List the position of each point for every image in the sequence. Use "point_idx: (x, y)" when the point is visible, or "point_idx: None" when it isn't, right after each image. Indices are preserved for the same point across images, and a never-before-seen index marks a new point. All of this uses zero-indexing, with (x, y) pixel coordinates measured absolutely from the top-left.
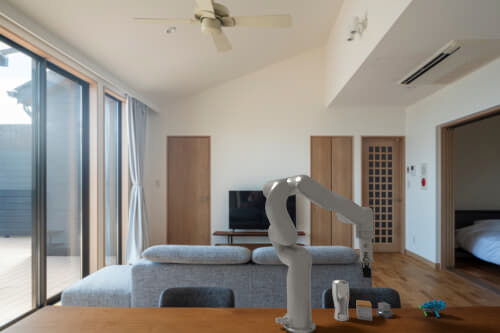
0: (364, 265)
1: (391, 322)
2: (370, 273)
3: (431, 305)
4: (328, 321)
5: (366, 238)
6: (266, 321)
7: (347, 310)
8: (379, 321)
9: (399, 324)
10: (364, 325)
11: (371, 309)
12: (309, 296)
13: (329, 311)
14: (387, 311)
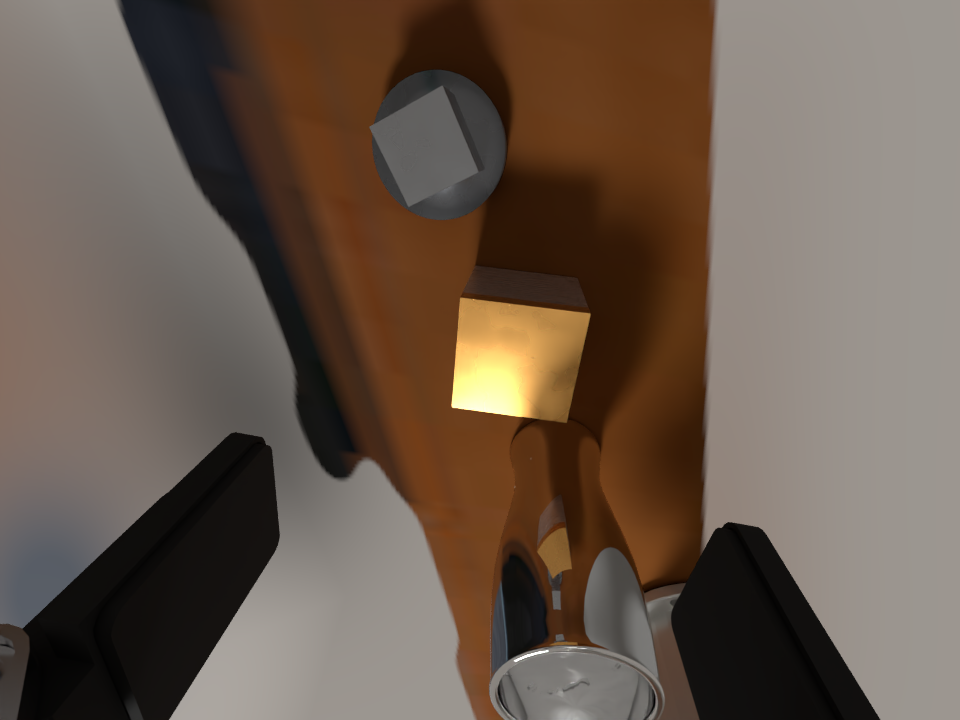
0: (184, 648)
1: (591, 128)
2: (805, 616)
3: None
4: None
5: None
6: None
7: (579, 461)
8: (580, 226)
9: (629, 63)
10: (659, 346)
11: (585, 305)
12: None
13: (457, 497)
14: (466, 126)
